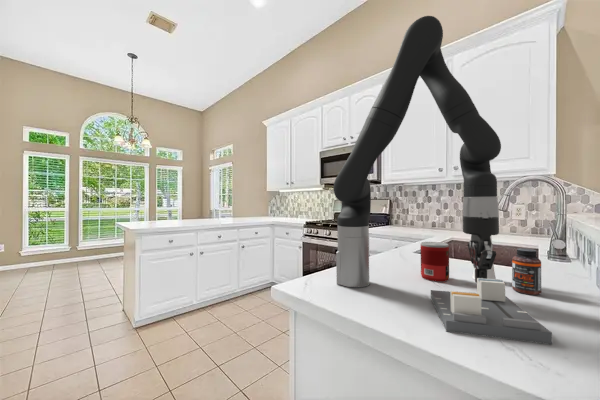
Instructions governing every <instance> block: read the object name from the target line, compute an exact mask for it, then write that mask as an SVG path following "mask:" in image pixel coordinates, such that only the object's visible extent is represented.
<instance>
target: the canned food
mask: <svg viewBox="0 0 600 400" xmlns="http://www.w3.org/2000/svg"><path fill="white" fill-rule="evenodd" d="M420 276H421V278H423V279H424V280H427V281H430V282H439V283H441V282H442V283H443V282H447V281H449V278H450V246H449V244H448V243H446V242H442V241H441V242H440V241H438V242H437V241H423V242H420Z"/></svg>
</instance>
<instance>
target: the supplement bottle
mask: <svg viewBox="0 0 600 400" xmlns="http://www.w3.org/2000/svg"><path fill="white" fill-rule="evenodd" d="M511 260H512V261H511V265H512V266H511V267H512V268H511V269H512V274H511V276H512V277H511V279H512V280H511V284H512V285H511V287H512V289H513V291H515V292H517V293H520V294H524V295H531V296H538V295H541V294H542V260H541V259H540V258H539V257H537V250H535V249H532V248H522V247H521V248H519V247H518V248H516V255H514V256H513V257H512V259H511Z"/></svg>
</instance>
